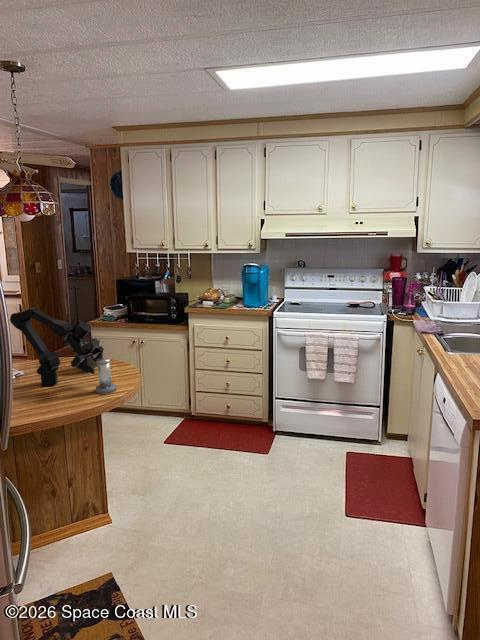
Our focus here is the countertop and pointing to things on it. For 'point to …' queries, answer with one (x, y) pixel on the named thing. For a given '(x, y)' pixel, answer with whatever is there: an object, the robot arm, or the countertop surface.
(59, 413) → the countertop surface
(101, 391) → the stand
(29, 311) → the robot arm
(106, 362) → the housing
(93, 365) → the grey round ball
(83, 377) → the countertop surface
